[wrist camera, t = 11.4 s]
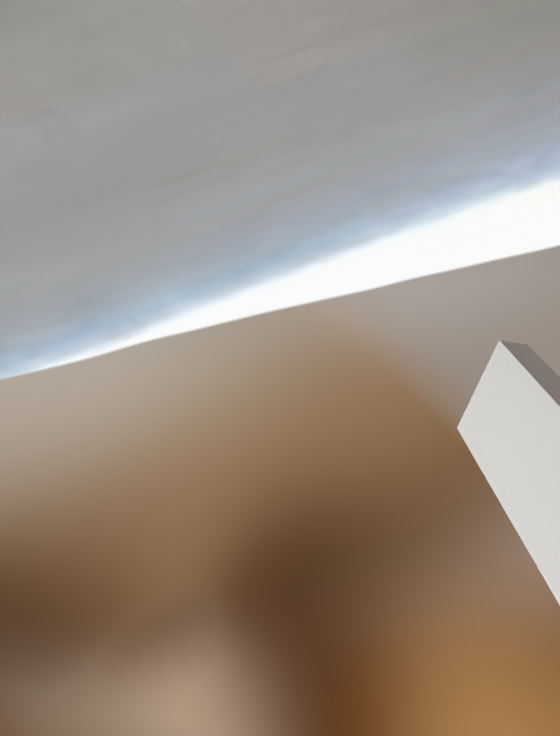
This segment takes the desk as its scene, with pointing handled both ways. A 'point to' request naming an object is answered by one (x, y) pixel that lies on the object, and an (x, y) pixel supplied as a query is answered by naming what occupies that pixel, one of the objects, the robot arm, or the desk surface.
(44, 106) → the desk surface
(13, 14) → the desk surface
